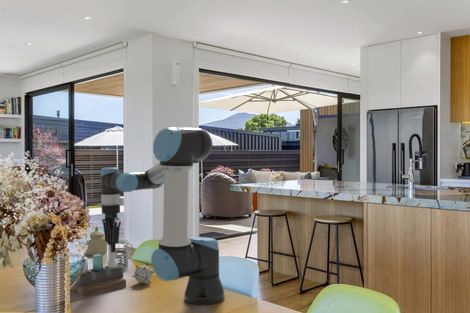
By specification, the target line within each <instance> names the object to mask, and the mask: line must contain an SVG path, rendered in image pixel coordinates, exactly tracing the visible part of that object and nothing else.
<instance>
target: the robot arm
mask: <svg viewBox="0 0 470 313" xmlns="http://www.w3.org/2000/svg"><path fill="white" fill-rule="evenodd" d="M212 149H213V139H212V137H211V135H210V134H209V133H208V132H207V131H206V130H204V129H203V128H200V127H178V126H173V127H172V126H171V127H165V128H163V129H161V130H159V131H158V133H157V134H156V135H155V138H154V140H153V145H152V151H153V154H154V157H155V158H156V160H157V161H159V162H158V163H156V164H155V165H153V166H152V167H150V168H149V169H148V170H145V171H133V172H132V171H131V172H120V169H119V167H114V166H113V167H103V168H101V170H100V193H101V195H100V202H101V214H102V215H104V218H102V219H101V222H102V225H103V233H104V236H105V241H106V242H107V254H108V255H107V256H108V259H107V260H114V259H116V255H117V254H116V248H117V247H116V246H117V244H116V243H118V241H119V238H120V230H121V229H120V227H121V224H122V221H119V220H117V219H118V218H119V217H118V214H119V213H121V205H120V199H121V195H120V193H121V192H123V193H129V192H131V193H132V192H133V191H140V190H141V191H142V190H150V189H151V190H155V189H159V188H162V187H163V214H162V215H163V223H162V226H163V227H162V230H163V231H162V237H161V238H160V239H159V240H158V248H157V249H155V250H154V251H153V252H152V253H151V258H150V259H151V260H150V261H151V266H152V269H153V271H154V273H155V274H156V276H157V277H158V278H159V279H160V280H162V281H164V282H170V281H176V280H178V279H182V278H186V277H188V281H187V283H186V286H185V291H184V302H187V303H188V304H192V305H201V306H203V305H213V304H217V303H220V302H222V301H223V300H224V299H225V291H224V287H223V285H222V281H221V278H220V249H219V242H218V240H217V239H215V238H212V237H205V236H191V237H188V222H189V221H188V220H189V219H188V214H189V209H188V208H189V173H190V172H189V171H190V170H191V169H192V168H193V167H194V164H199V163H200V162H202V161H203V160H205V159H207V158H208V156H210V154H211V153H212Z"/></svg>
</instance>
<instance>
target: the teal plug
mask: <svg viewBox="0 0 470 313" xmlns="http://www.w3.org/2000/svg"><path fill="white" fill-rule="evenodd" d="M103 256H104V254H97V255H92V269H93V271H101V270H103V267H104V264H103V263H104V260H103Z"/></svg>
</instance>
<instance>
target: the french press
mask: <svg viewBox="0 0 470 313" xmlns="http://www.w3.org/2000/svg"><path fill="white" fill-rule="evenodd" d="M117 220H118V221H121V219H120V217H118V219H117ZM117 244H118V245H120V244H125V246H126V247H128V246H129V245H130V246H131V254H130V255H129V256H128V252H127V248H126V247H116V259H117V265H119V266H122V267H123V273H124V272H125V273H126V272H128V271H130V270H129V269H130V267H129V259H131V257H132V256H133V255H134V247H133V245H132V244H131V243H129V242H128V239H126V238H124V237H119V241H118V243H116V245H117Z"/></svg>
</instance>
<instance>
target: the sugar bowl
mask: <svg viewBox="0 0 470 313" xmlns="http://www.w3.org/2000/svg"><path fill="white" fill-rule="evenodd" d="M95 227H96V228H95ZM95 227H94V231H92V232H90V233H89V234H90V235H89V236H90V238H91V240H89V241H87V240H86V246H87V245H88V249H87V248H86V254H87V255H88V256H93V255H97V254H101V255H106V254H108V244H107V242H106V241H105V235H104V231H102V230H99V227H98V226H95Z"/></svg>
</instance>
